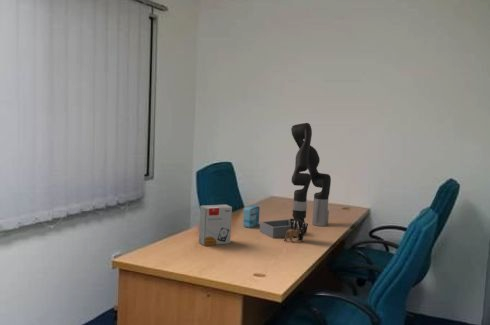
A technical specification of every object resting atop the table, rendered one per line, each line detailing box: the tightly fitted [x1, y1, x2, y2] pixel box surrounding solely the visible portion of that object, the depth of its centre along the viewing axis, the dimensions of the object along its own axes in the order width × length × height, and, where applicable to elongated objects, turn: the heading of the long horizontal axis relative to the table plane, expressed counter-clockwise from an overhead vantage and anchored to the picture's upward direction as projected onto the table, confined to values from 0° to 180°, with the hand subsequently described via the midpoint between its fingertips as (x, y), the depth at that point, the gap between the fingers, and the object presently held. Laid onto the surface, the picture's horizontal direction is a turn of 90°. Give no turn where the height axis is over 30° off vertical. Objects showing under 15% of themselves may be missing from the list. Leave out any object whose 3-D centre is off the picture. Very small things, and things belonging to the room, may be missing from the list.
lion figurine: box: [283, 227, 308, 243], centre depth 256 cm, size 15×5×9 cm, turn 117°
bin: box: [259, 219, 291, 239], centre depth 272 cm, size 20×14×6 cm
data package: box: [242, 205, 261, 229], centre depth 286 cm, size 12×4×12 cm, turn 149°
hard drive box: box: [198, 204, 233, 246], centre depth 246 cm, size 16×8×20 cm, turn 117°
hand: (297, 238), depth 257 cm, fingers closed on lion figurine, 4 cm apart
